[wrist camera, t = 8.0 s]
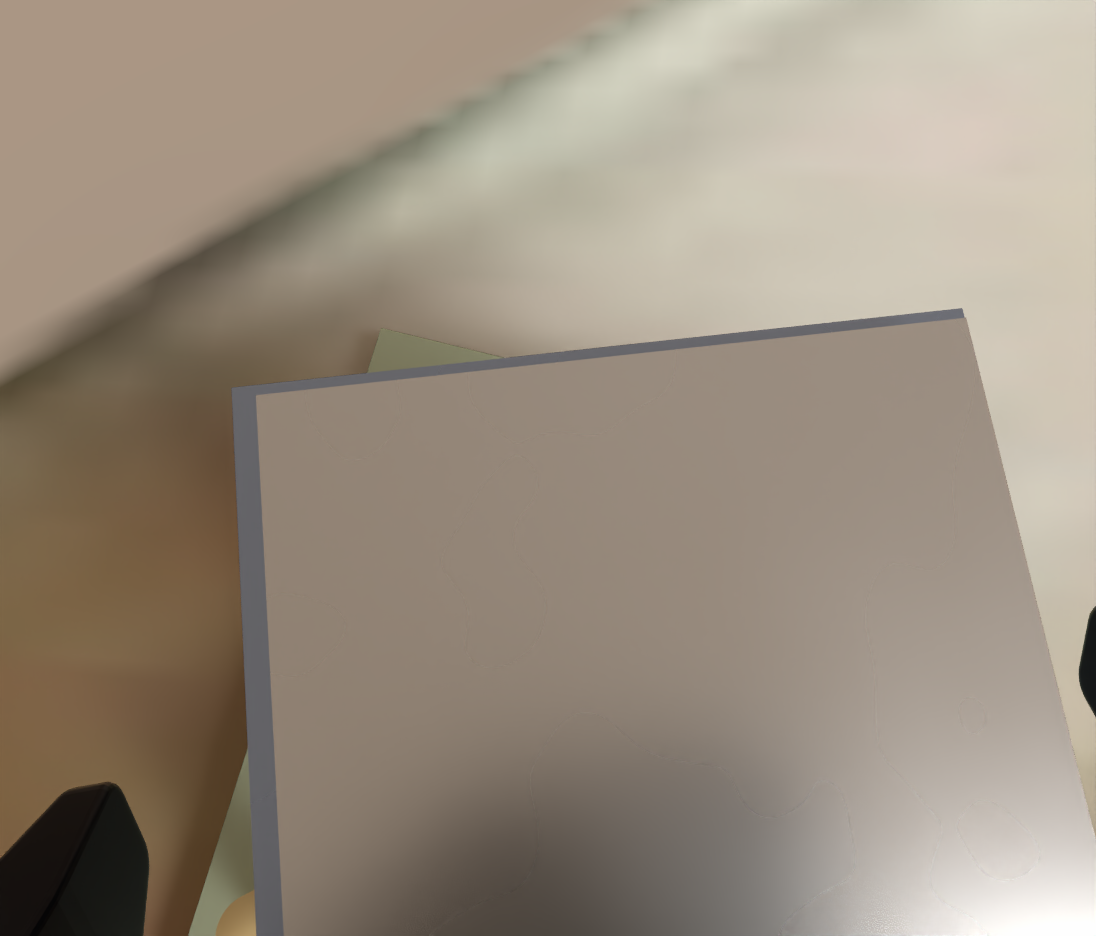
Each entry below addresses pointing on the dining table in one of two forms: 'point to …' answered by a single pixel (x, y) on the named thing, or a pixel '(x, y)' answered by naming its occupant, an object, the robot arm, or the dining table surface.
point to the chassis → (229, 887)
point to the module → (652, 648)
